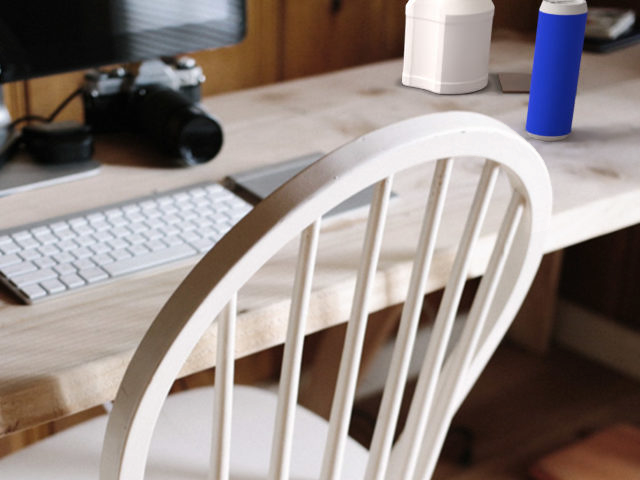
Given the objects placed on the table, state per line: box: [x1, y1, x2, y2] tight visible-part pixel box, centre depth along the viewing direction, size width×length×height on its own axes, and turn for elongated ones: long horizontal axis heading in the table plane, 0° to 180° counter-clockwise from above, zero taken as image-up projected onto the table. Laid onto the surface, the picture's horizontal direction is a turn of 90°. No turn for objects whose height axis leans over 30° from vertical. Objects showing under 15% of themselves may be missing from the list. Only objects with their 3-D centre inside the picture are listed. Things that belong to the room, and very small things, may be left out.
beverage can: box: [525, 0, 589, 142], centre depth 116 cm, size 5×5×15 cm
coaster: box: [496, 72, 532, 94], centre depth 139 cm, size 9×9×1 cm
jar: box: [401, 0, 496, 95], centre depth 136 cm, size 12×10×15 cm
